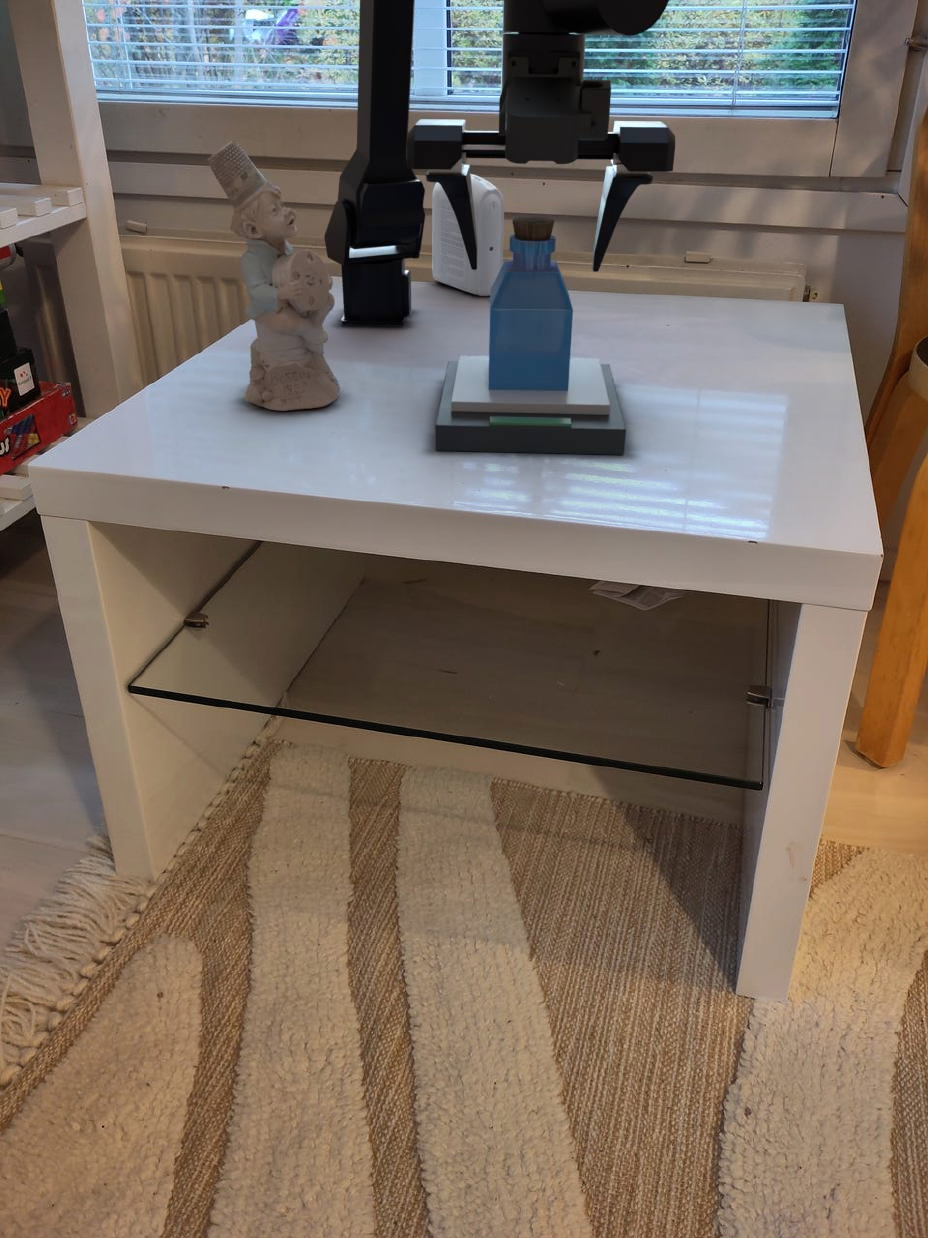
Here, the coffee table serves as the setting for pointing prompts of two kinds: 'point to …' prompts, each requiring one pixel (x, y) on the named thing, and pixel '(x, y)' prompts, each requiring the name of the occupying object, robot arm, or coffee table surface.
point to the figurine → (278, 291)
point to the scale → (530, 412)
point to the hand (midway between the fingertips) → (534, 269)
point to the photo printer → (450, 247)
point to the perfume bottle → (530, 314)
